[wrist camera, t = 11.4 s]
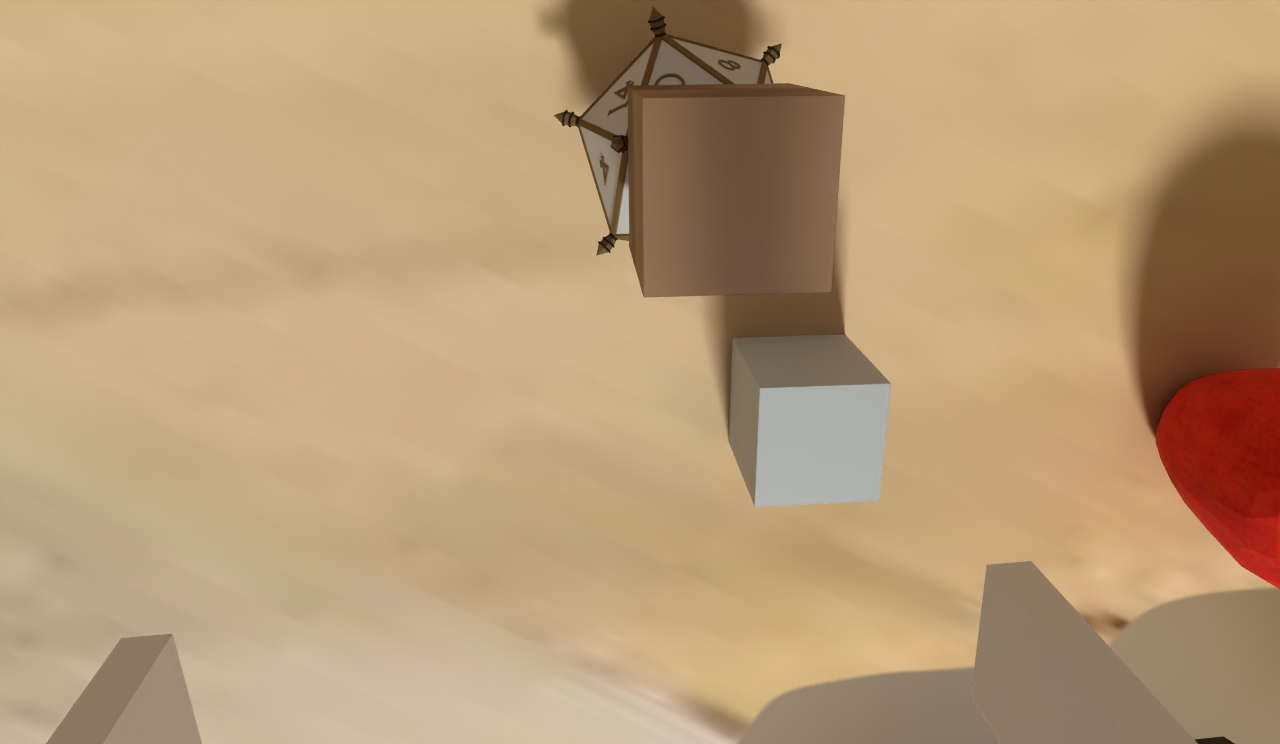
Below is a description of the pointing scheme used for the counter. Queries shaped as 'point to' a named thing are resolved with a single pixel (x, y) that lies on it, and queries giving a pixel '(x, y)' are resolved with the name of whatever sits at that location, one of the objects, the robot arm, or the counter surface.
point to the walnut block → (733, 188)
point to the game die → (609, 113)
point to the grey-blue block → (807, 419)
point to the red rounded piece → (1229, 461)
